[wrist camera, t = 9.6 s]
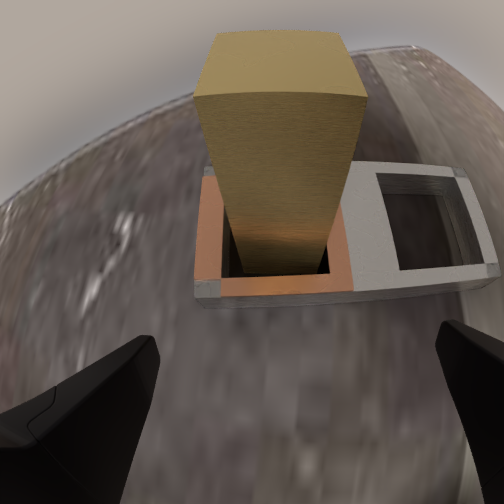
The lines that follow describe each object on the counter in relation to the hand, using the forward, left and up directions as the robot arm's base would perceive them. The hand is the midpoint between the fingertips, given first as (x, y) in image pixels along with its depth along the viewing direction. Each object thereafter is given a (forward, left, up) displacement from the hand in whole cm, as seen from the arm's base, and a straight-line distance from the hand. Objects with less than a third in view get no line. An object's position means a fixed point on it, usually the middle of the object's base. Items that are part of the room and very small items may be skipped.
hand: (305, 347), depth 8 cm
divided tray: (+1, -9, -9) cm, 13 cm away
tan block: (+5, -6, -9) cm, 12 cm away
